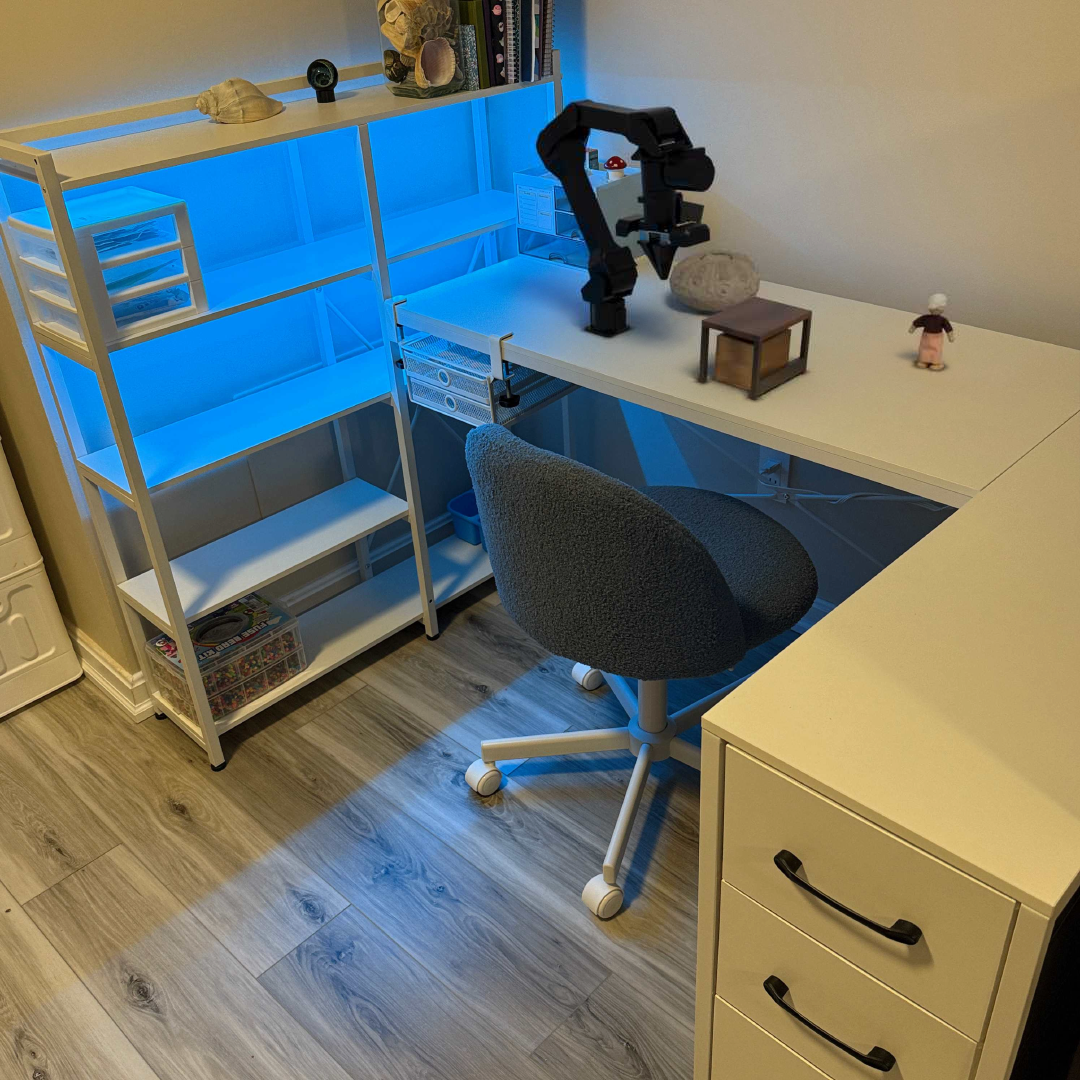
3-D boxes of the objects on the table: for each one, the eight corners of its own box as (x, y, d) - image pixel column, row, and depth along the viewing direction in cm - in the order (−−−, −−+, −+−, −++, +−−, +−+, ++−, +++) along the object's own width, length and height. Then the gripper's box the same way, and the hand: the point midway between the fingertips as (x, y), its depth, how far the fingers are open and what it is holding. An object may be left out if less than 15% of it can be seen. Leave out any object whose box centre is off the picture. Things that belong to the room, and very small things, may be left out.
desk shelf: (698, 382, 178) (701, 320, 172) (750, 355, 187) (755, 296, 181) (754, 400, 171) (759, 336, 165) (806, 372, 180) (812, 310, 174)
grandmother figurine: (951, 364, 180) (964, 292, 173) (948, 372, 177) (961, 300, 170) (904, 358, 183) (915, 288, 176) (901, 366, 180) (912, 295, 173)
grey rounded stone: (653, 310, 208) (654, 261, 203) (691, 284, 220) (693, 237, 215) (737, 325, 200) (741, 273, 194) (771, 296, 212) (775, 247, 207)
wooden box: (714, 379, 178) (716, 335, 174) (748, 362, 184) (752, 318, 180) (753, 392, 174) (756, 346, 169) (787, 373, 179) (791, 329, 175)
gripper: (732, 182, 173) (735, 276, 181) (658, 175, 187) (663, 262, 195) (682, 196, 168) (687, 292, 176) (610, 187, 182) (617, 276, 190)
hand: (664, 279), depth 184 cm, fingers closed
